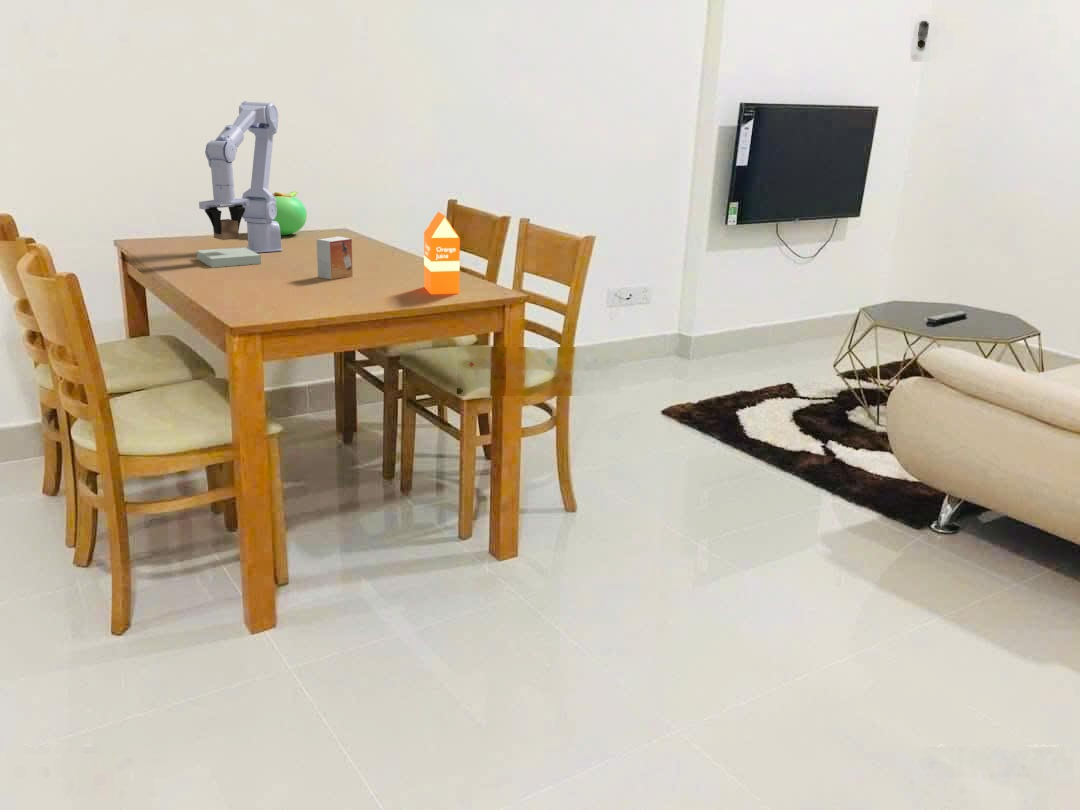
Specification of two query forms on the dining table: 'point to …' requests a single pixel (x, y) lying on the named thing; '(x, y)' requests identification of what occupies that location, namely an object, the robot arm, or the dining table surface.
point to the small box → (334, 257)
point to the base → (228, 257)
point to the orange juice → (441, 257)
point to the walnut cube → (228, 230)
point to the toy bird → (289, 213)
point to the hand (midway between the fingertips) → (226, 232)
